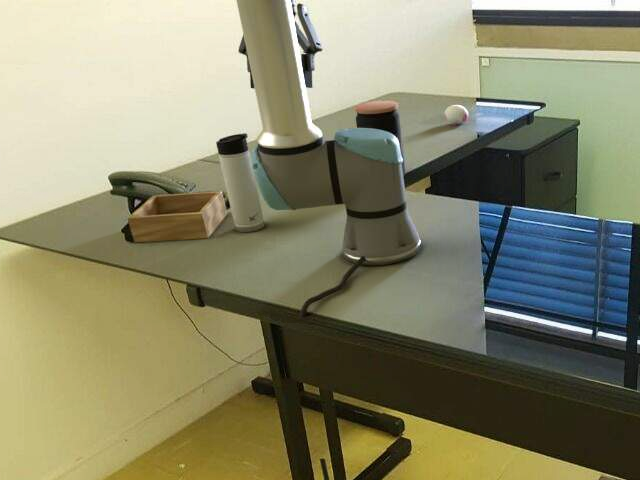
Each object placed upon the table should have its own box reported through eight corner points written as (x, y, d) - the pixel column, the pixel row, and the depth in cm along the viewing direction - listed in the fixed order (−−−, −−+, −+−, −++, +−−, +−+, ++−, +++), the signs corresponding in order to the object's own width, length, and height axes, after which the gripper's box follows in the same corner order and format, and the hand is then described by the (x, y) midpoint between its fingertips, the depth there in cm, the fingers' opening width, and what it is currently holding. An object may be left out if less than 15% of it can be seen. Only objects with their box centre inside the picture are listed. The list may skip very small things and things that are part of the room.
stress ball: (470, 132, 252) (472, 112, 252) (464, 123, 244) (466, 102, 244) (447, 131, 253) (450, 111, 254) (440, 122, 246) (443, 101, 246)
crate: (208, 238, 169) (201, 213, 166) (134, 242, 169) (127, 218, 166) (227, 214, 183) (222, 190, 180) (159, 218, 183) (152, 195, 180)
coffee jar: (399, 184, 195) (390, 109, 186) (358, 184, 197) (347, 110, 188) (411, 172, 204) (403, 100, 194) (371, 172, 206) (362, 101, 197)
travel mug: (262, 231, 170) (242, 137, 160) (232, 233, 171) (210, 139, 161) (269, 222, 176) (250, 130, 166) (240, 223, 176) (219, 132, 166)
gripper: (337, -19, 165) (339, 88, 171) (241, -11, 175) (246, 91, 180) (316, -28, 159) (319, 84, 164) (218, -19, 168) (224, 87, 173)
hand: (281, 88), depth 172 cm, fingers open, 13 cm apart
